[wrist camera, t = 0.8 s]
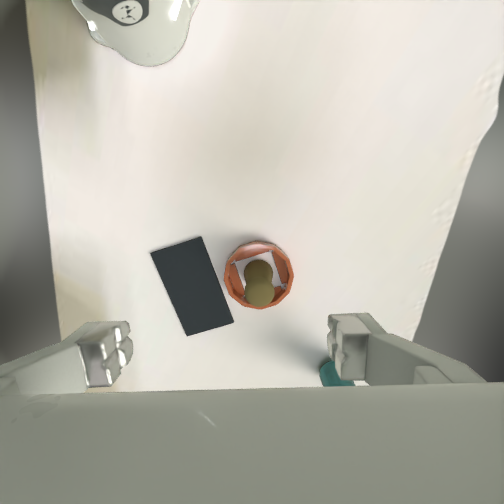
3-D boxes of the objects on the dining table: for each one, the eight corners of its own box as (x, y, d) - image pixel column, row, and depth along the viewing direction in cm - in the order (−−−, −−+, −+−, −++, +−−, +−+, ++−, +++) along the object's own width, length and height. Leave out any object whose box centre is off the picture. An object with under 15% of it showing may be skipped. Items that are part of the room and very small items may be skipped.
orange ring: (216, 253, 51) (214, 256, 49) (280, 232, 50) (281, 235, 48) (238, 310, 54) (237, 316, 52) (298, 293, 53) (300, 297, 51)
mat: (151, 252, 51) (150, 253, 51) (201, 236, 50) (200, 237, 50) (187, 335, 56) (186, 336, 56) (234, 321, 55) (233, 322, 55)
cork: (278, 275, 52) (285, 298, 42) (256, 292, 53) (257, 319, 43) (260, 253, 51) (262, 271, 40) (237, 271, 52) (233, 293, 41)
